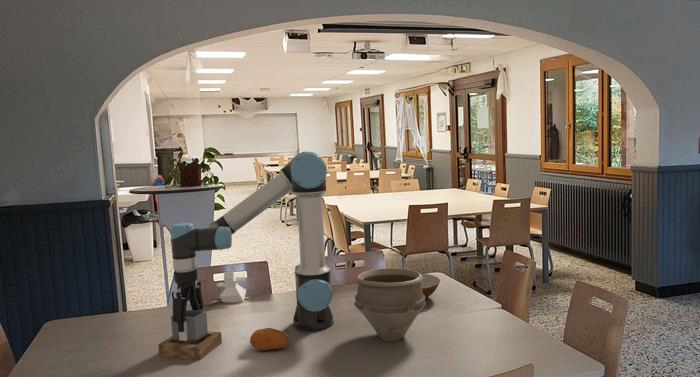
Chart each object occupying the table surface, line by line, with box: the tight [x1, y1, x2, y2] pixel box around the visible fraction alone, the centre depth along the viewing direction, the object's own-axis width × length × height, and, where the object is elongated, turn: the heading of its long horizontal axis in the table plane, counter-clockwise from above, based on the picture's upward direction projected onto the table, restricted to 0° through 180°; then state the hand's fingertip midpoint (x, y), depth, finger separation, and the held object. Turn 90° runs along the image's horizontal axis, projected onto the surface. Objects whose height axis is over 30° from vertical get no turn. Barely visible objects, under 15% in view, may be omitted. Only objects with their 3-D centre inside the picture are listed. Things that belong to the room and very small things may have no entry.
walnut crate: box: [157, 330, 223, 360], centre depth 175 cm, size 15×14×4 cm
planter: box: [353, 267, 427, 342], centre depth 178 cm, size 25×24×22 cm
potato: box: [249, 327, 290, 352], centre depth 172 cm, size 7×13×7 cm, turn 86°
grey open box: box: [170, 309, 209, 341], centre depth 174 cm, size 9×7×8 cm
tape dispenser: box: [215, 271, 247, 303], centre depth 228 cm, size 8×14×14 cm, turn 84°
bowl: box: [419, 272, 441, 300], centre depth 219 cm, size 25×25×8 cm
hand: (190, 335), depth 174 cm, fingers closed on grey open box, 7 cm apart
